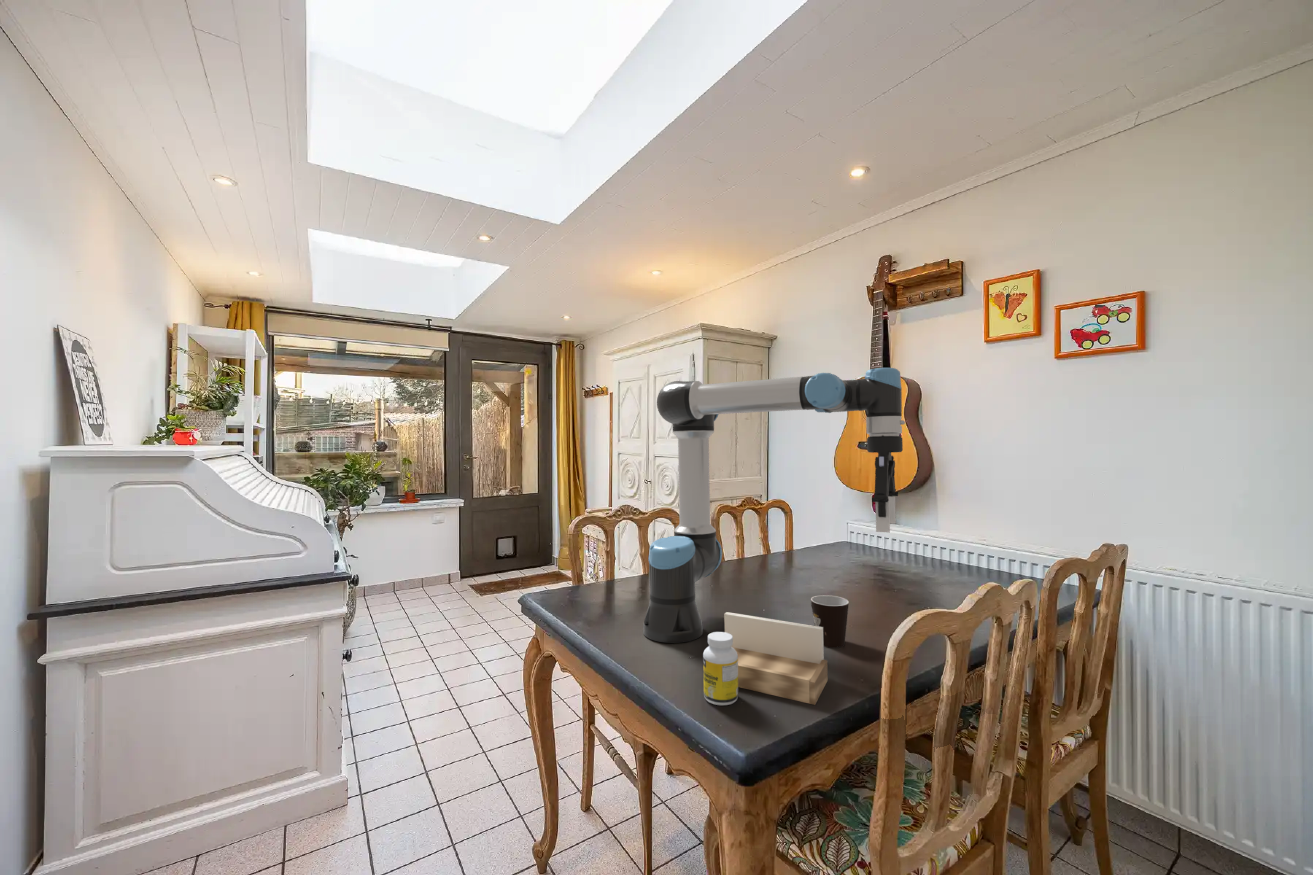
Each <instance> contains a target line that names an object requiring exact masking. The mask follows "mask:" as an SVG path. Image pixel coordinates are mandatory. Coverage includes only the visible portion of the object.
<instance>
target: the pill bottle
mask: <svg viewBox="0 0 1313 875" xmlns="http://www.w3.org/2000/svg"><path fill="white" fill-rule="evenodd" d="M707 644H708V646H707V647H706V648H705V649H704V650H703V653H702V661H703V666H702V668H703V671H702V672H703V697H704V699H705V700H706V701H707V702H708V703H710V704H713V705H715V706H716V705H717V706H728V705H732V704H734V703H735V702H736V701H738V698H739V687H738V655H737V652H736V650H735V649H734V648H732V647H731V646H732V645H733V636H732V635H731V634H729V633H726V632H725V631H713V632H711V633H709V634H708V635H707Z"/></svg>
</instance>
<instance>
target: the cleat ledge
mask: <svg viewBox="0 0 1313 875" xmlns="http://www.w3.org/2000/svg"><path fill="white" fill-rule="evenodd" d="M732 648H734V647H732ZM734 649H735V650H736V652H737V655H738V688H741V689H746V690H749V691H754V692H759V693H762V694H766V695H771V696H776V697H780V698H784V699H788V700H793V701H796V702H801V703H806V704H810V705H814V706H815V705H816V704H817V702H818V700H819V698H820V696H821V694H822V692H823V690H824V689H825V686H826V684H827V682H828V681H829V680H828V660H827V659H824V660H822V661H821V662H820V664H817V663H812V662H807V661H801V660H796V659H791V658H786V657H781V656H776V655H770V654H765V653H760V652H755V651H750V650H745V649H739V648H734Z"/></svg>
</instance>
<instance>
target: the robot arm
mask: <svg viewBox="0 0 1313 875" xmlns="http://www.w3.org/2000/svg"><path fill="white" fill-rule="evenodd" d="M902 394H903V392H902V379H901V372H900V371H899V369H898V368H895V367H879V368H878V367H877V368H870V369H868V370H866V372H865V375H864V378H860V379H848V380H845V379H841V378H840V377H839V376H838V375H836V374H833V373H831V372H819V373H816V374H814V375H807V376H793V377H783V378H770V379H756V380H755V379H753V380H744V381H743V380H742V381H730V382H718V383H705V384H703V383H702V381H699V380H691V381H690V380H689V381H685V380H684V381H683V380H676V381H670V382H669V383H667V384H665V385H664V386H663V387H662V388H661V389H660V390H659V392H658V394H657V397H656V407H657V411H658V413H659V415H660V417H661V418H662V419H663V420H664V421H666V422H668V423H669V424H671V425H672V434H673V435H674V436H675V437H676V438H677V441H678V442H677V446H678V447H677V448H678V450H677V452H678V456H677V457H678V503H679V505H678V509H679V512H678V514H679V515H678V516H679V518H678V520H679V524H678V525H677V526H676V527H675V529H674V530H673V536H667V537H662V538H658V539H656V540H654V541H652V543H651V544H650V546H649V553H648V568H649V569H648V572H649V573H648V574H649V578H648V579H649V581H648V582H649V603H648V608H647V610H646V614H645V615H644V616H645V617H644V620H643V624H642V628H643V630H642V631H643V635H644V637H645V638H647V639H650V640H652V641H655V642H659V643H664V644H665V643H666V644H667V643H668V644H678V643H688V642H692V641H694V640H697V639H699V638H701V637H702V635H703V632H704V630H703V629H704V627H703V621H702V618H701V614H700V612H699V609H698V605H697V602H696V582H698V581H700V580H702V579H703V578H706V577H707V578H708V577H709V576H711V575H712V574H713V573H714V572H715V571H716V570H717V569H718V568H719V566H720V564H721V562H722V558H723V550H722V549H723V548H722V545H721V543H720V542H719V541H718V539H717V535H716V534H717V530H716V528H715V527H714V526H713V525H712V524H711V499H710V498H711V496H710V495H711V494H710V491H711V490H710V443H709V442H710V440H709V439H710V437H711V436H712V435H713V434H714V433H715V421H716V420H717V418H718V416H719V415H726V414H729V415H730V414H748V413H765V412H766V413H767V412H782V411H783V412H785V411H787V412H788V411H789V412H790V411H806V410H807V411H810V410H814V411H815V412H817V413H828V414H831V413H841V412H842V413H843V412H857V411H858V412H863V411H865V412H866V417H865V418H866V420H865V423H866V426H865V428H866V434H867V435H868V436H867V438H866V450H867V452H868V453H876V454H877V456H875V458H874V468H875V471H874V474H875V475H874V480H875V481H874V495H873V497H871V502H872V503H873V502H874V503H875V532H877V533H890V532H891V524H892V525H896V524H897V523H896V522H897V520H896V517H897V516H896V497H898V496H899V491H897V488H896V479H895V474H896V471H895V468H896V460H894V459H895V456H894V455H892V453H902V451H903V447H904V446H903V437H902V436H900V434H902V433H903V425H905V424H906V421H905V420H904V419H902V418H903V417H902V414H903V412H902V408H903V406H902V405H903V404H902V400H903V399H902V397H903V396H902Z"/></svg>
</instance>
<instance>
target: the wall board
mask: <svg viewBox="0 0 1313 875" xmlns="http://www.w3.org/2000/svg"><path fill="white" fill-rule="evenodd" d="M723 615H724V616H723V618H724V619H723V620H724V632H726V633H729V634H731V635H732V636H733V645H732V646H731V647H734V648H739V649H745V650H750V651H755V652H760V653H765V654H770V655H776V656H781V657H786V658H791V659H796V660H801V661H807V662H812V663H817V664H820V662H821V661H822V660H825V658H824V657H825V656H824V655H825V654H824V649H825V648H824V647H825V646H823V627H818V626H814V625H810V624H805V623H799V622H792V621H787V620H781V619H773V618H767V617H761V616H756V615H755V616H754V615H748V614H742V613H734V612H729V611H728V612H727V611H726V612H724V614H723Z"/></svg>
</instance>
